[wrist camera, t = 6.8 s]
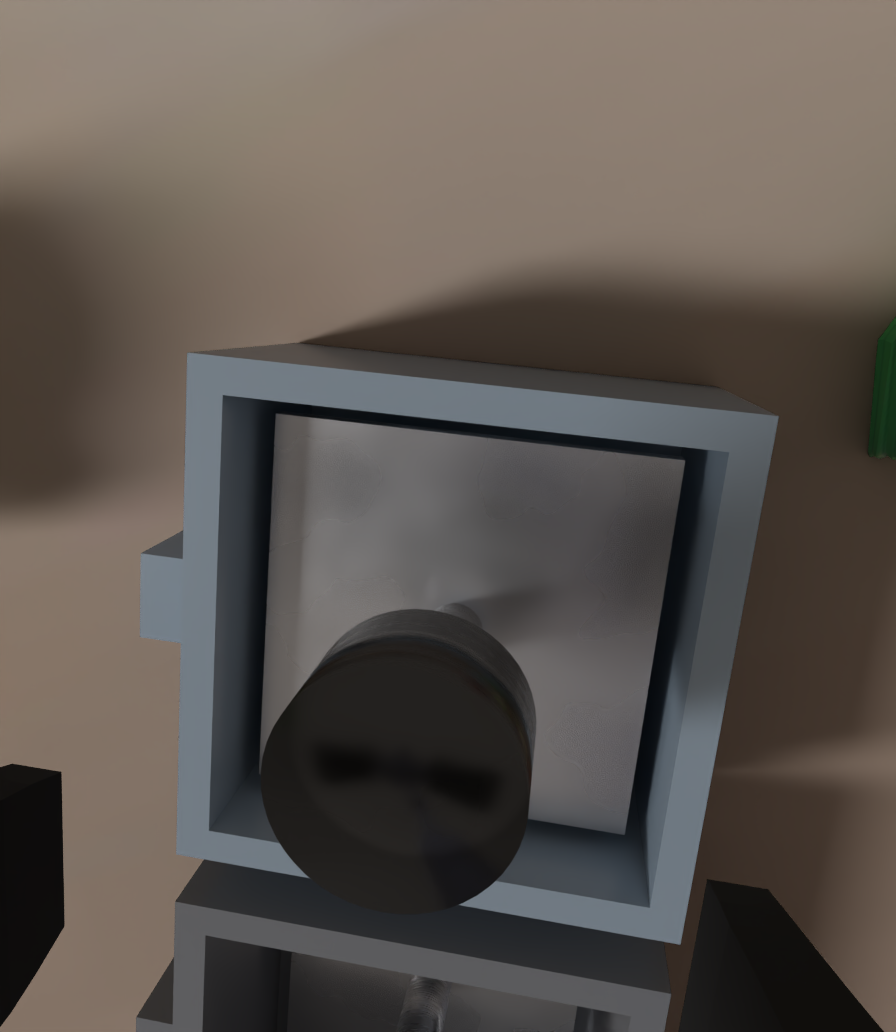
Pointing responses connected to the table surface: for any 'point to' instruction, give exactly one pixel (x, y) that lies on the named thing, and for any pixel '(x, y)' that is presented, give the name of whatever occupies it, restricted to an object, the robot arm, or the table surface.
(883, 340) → the pattern blocks set
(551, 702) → the slate-blue press plunger
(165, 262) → the table surface
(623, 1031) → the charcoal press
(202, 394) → the slate-blue press
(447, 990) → the charcoal press plunger
